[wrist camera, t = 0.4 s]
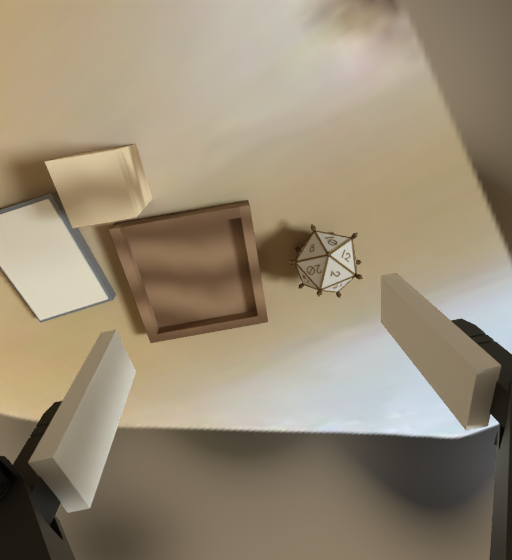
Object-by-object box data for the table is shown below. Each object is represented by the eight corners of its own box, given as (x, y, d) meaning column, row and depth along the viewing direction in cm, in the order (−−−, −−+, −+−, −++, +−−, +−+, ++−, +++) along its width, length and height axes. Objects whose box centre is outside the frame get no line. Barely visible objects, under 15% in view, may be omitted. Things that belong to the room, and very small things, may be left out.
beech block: (80, 153, 35) (44, 161, 28) (136, 144, 35) (114, 150, 28) (101, 207, 38) (72, 228, 30) (152, 199, 38) (136, 217, 31)
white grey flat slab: (-26, 218, 37) (-36, 222, 35) (56, 191, 36) (49, 194, 35) (45, 316, 43) (39, 323, 41) (116, 294, 43) (112, 301, 41)
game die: (306, 253, 47) (290, 313, 41) (291, 209, 40) (270, 272, 35) (372, 254, 43) (363, 319, 37) (367, 204, 37) (355, 274, 31)
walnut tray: (115, 223, 38) (108, 229, 36) (247, 200, 39) (249, 205, 36) (154, 332, 46) (150, 343, 43) (265, 312, 46) (268, 321, 44)
